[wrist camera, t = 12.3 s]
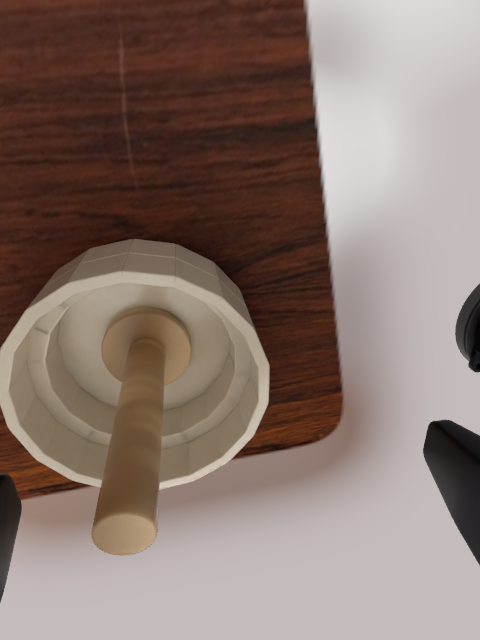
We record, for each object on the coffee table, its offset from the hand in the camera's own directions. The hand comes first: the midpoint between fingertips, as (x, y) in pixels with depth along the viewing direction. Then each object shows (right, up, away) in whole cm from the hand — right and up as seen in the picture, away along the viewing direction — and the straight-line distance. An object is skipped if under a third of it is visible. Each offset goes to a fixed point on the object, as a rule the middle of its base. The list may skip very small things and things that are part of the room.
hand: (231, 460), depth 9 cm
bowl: (-5, +2, +13) cm, 14 cm away
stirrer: (-5, +2, +12) cm, 13 cm away
